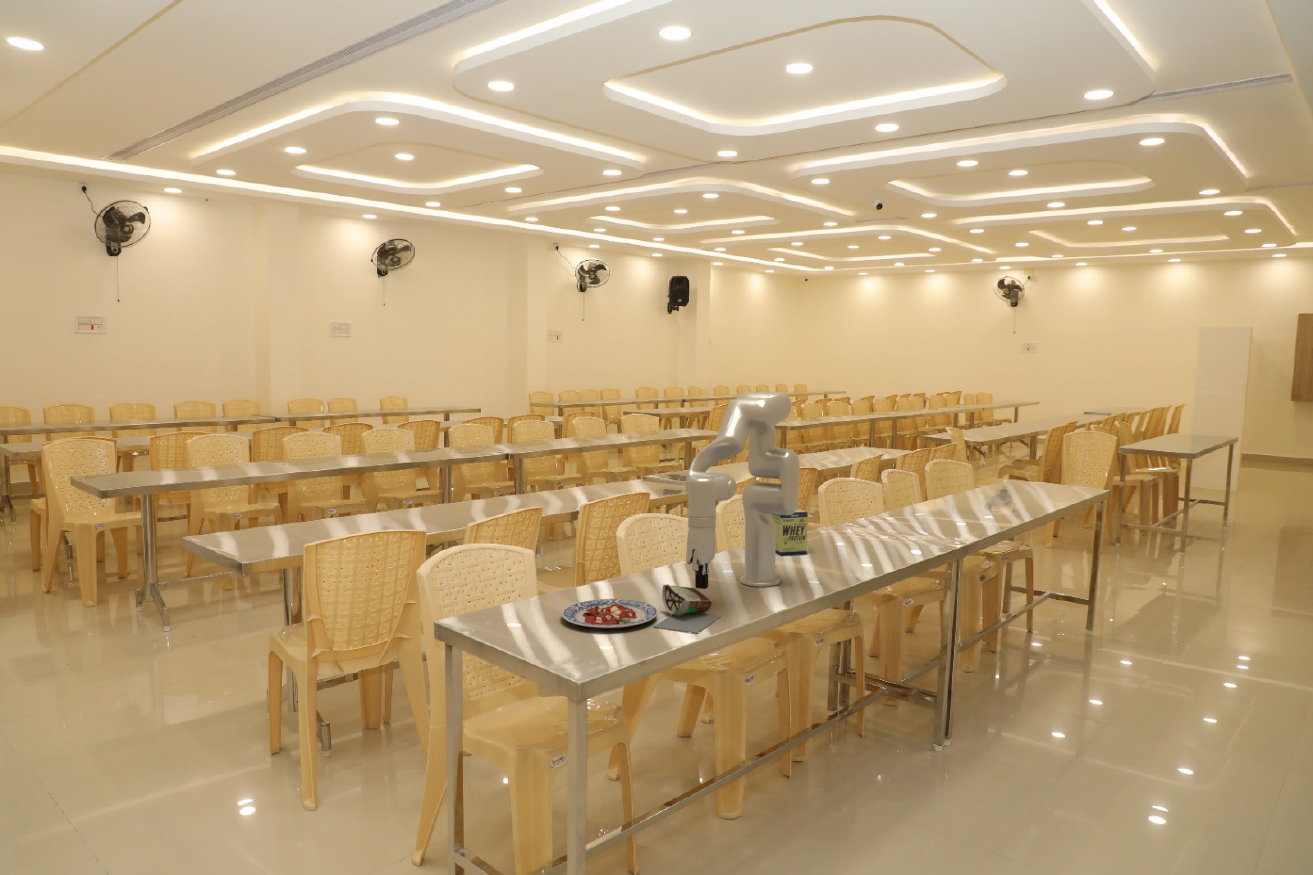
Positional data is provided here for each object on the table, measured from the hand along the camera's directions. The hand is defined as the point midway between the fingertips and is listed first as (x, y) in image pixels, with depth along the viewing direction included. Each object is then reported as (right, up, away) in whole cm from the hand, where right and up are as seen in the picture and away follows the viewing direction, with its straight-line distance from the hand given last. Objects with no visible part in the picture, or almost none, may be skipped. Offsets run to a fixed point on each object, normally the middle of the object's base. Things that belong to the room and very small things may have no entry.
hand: (701, 587), depth 234 cm
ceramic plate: (-25, -8, -4) cm, 27 cm away
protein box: (+35, -1, +79) cm, 86 cm away
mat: (-4, -8, -7) cm, 12 cm away
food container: (0, -5, +2) cm, 6 cm away
